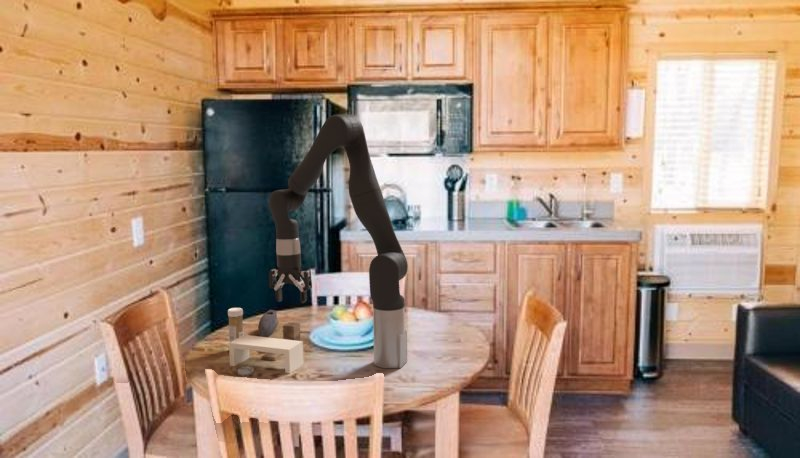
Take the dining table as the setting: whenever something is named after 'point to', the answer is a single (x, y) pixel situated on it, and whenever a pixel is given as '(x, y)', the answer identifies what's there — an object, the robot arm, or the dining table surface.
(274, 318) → the perforated stone tool
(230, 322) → the sprinkles bottle
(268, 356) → the brown l-shaped block
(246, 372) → the silver metal dome
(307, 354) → the dining table surface
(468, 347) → the dining table surface
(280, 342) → the shelf
